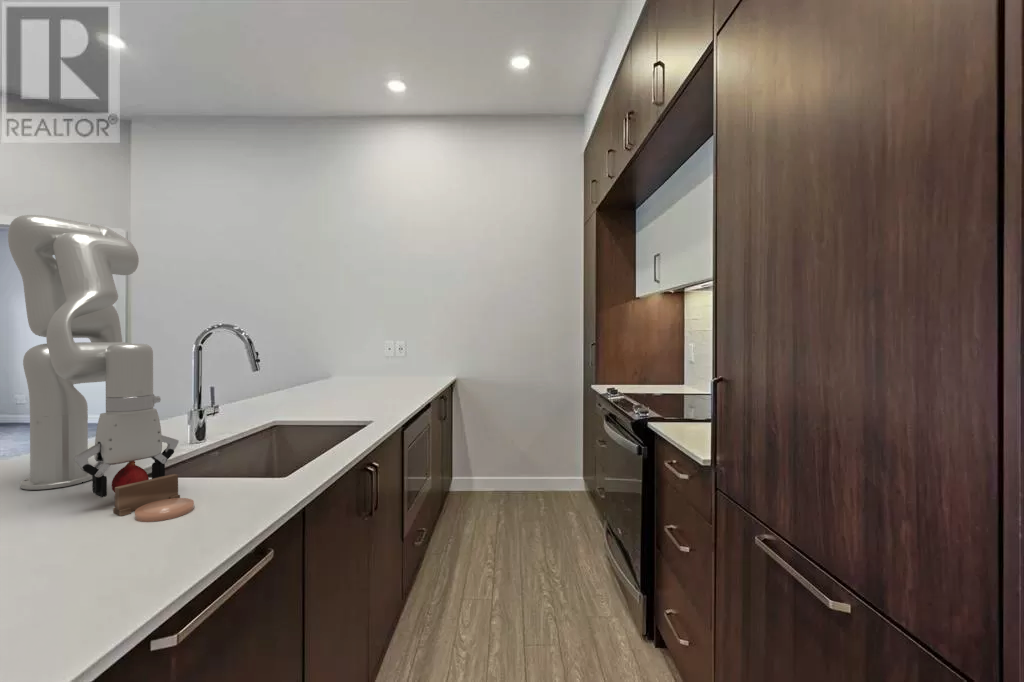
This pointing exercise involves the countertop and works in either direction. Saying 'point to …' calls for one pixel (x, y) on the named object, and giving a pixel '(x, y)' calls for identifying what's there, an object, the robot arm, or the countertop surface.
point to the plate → (164, 509)
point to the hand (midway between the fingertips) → (130, 488)
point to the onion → (129, 475)
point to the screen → (144, 493)
